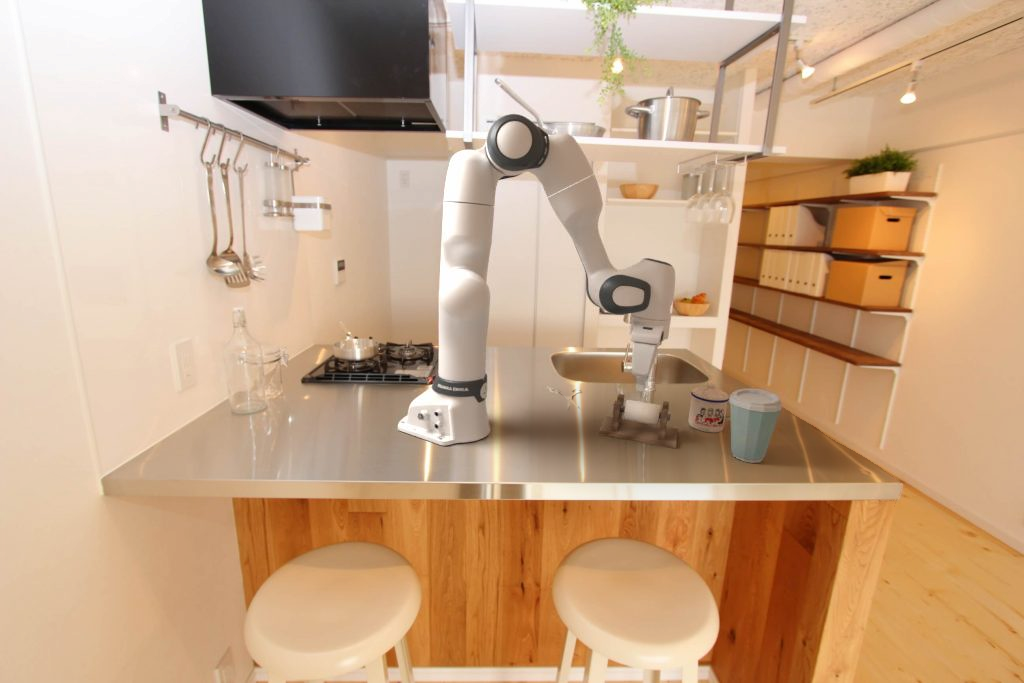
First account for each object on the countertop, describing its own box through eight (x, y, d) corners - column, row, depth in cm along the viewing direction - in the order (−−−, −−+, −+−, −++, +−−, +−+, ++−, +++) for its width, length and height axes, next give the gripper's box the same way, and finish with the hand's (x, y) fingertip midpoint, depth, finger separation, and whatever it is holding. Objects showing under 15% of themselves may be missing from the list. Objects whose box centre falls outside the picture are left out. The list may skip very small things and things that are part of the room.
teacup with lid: (691, 431, 121) (697, 388, 118) (683, 418, 129) (688, 377, 127) (741, 435, 119) (748, 391, 117) (729, 421, 128) (735, 380, 125)
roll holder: (598, 434, 117) (601, 403, 115) (606, 419, 126) (608, 390, 124) (675, 448, 111) (679, 416, 109) (677, 432, 120) (681, 402, 118)
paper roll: (616, 411, 122) (613, 421, 117) (618, 394, 120) (614, 403, 115) (670, 420, 117) (668, 431, 113) (672, 403, 115) (670, 413, 111)
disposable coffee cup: (747, 471, 101) (759, 404, 98) (709, 449, 111) (718, 388, 108) (783, 463, 105) (795, 399, 102) (743, 443, 115) (753, 384, 112)
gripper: (640, 320, 123) (634, 371, 126) (630, 334, 104) (622, 394, 107) (666, 323, 121) (659, 375, 124) (660, 338, 102) (651, 399, 105)
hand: (642, 384), depth 115 cm, fingers open, 8 cm apart
